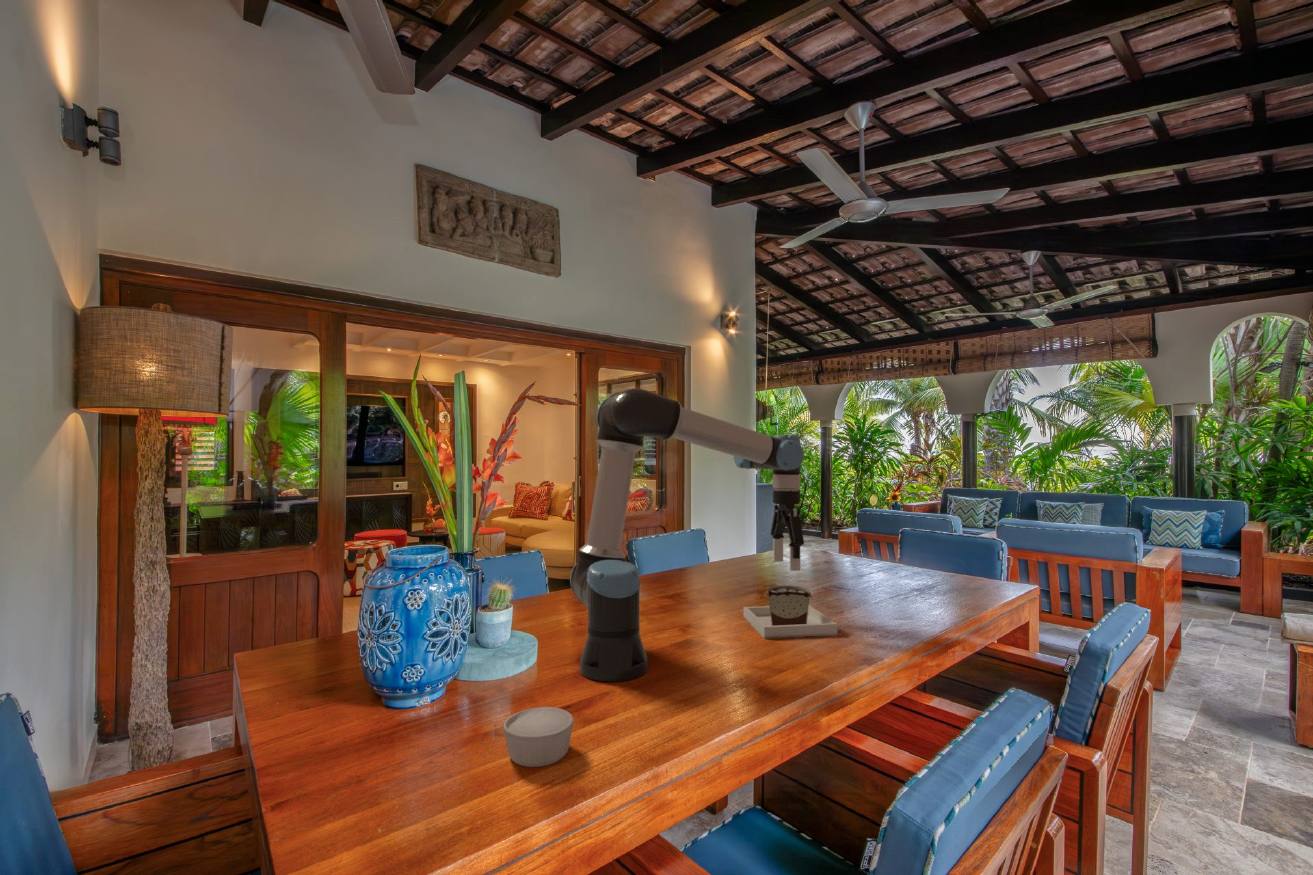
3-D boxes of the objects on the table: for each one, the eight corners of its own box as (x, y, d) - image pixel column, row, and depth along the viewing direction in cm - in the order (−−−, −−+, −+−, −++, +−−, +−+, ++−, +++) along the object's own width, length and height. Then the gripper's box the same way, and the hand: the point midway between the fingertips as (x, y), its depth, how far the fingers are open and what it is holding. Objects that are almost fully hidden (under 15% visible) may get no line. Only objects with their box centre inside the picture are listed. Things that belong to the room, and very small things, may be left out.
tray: (837, 635, 155) (837, 623, 155) (764, 638, 153) (764, 627, 153) (808, 614, 175) (808, 604, 175) (743, 617, 172) (743, 607, 173)
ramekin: (510, 737, 101) (510, 706, 101) (575, 735, 101) (575, 704, 101) (497, 773, 89) (497, 738, 90) (570, 770, 90) (570, 735, 90)
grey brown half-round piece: (808, 620, 167) (807, 585, 167) (812, 627, 160) (811, 590, 161) (764, 619, 168) (763, 584, 168) (766, 626, 161) (766, 589, 162)
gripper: (816, 492, 153) (816, 574, 152) (784, 487, 178) (784, 557, 177) (789, 492, 152) (788, 574, 151) (760, 487, 177) (759, 558, 176)
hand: (786, 565), depth 164 cm, fingers open, 13 cm apart
